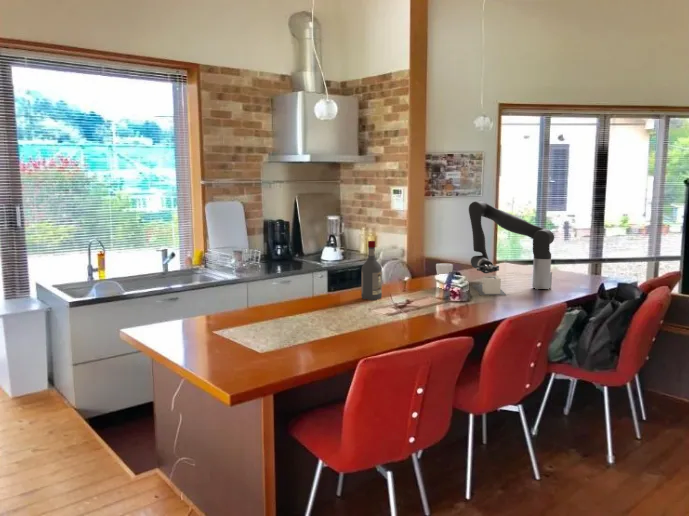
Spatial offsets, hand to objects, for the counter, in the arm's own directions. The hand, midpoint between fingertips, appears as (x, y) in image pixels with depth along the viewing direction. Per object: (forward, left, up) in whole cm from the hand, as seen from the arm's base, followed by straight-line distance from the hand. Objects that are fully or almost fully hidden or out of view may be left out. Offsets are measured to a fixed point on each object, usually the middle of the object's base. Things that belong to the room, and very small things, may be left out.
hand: (491, 270), depth 316 cm
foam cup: (+18, -21, -12) cm, 30 cm away
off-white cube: (+1, +2, -3) cm, 4 cm away
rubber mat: (-2, -6, -12) cm, 13 cm away
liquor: (+67, -5, -12) cm, 68 cm away
